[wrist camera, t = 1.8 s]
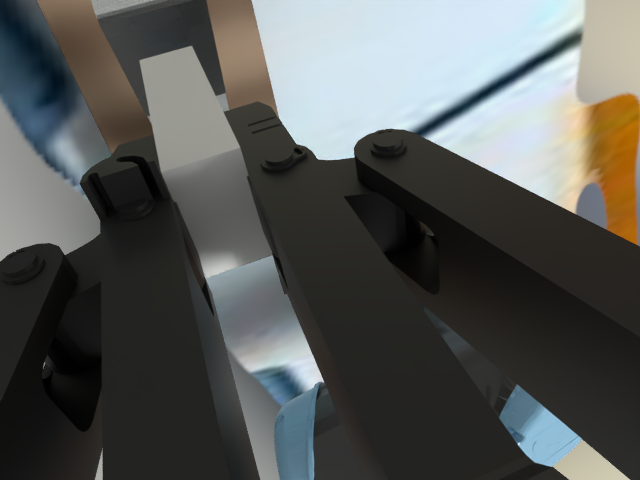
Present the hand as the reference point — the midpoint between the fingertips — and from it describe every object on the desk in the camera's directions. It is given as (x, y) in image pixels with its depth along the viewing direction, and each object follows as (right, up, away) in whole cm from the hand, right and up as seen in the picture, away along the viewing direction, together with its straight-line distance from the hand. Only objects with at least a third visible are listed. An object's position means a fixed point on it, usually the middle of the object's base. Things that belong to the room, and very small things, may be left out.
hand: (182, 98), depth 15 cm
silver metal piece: (-4, +4, +15) cm, 16 cm away
